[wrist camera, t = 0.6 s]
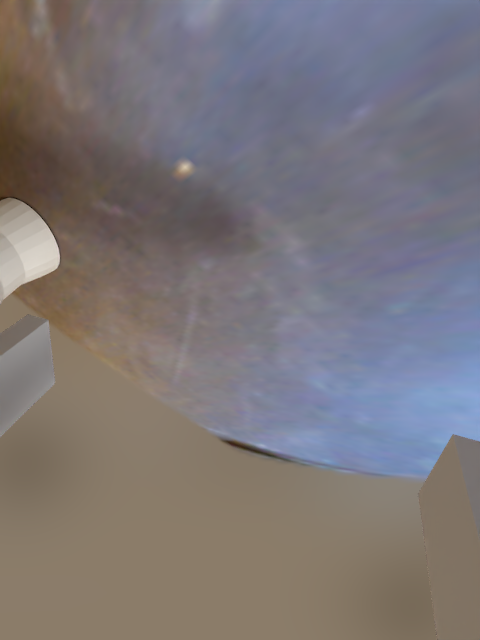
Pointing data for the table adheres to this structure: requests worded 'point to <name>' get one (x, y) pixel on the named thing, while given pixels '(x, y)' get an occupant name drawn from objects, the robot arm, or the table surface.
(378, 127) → the table surface
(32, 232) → the cup
